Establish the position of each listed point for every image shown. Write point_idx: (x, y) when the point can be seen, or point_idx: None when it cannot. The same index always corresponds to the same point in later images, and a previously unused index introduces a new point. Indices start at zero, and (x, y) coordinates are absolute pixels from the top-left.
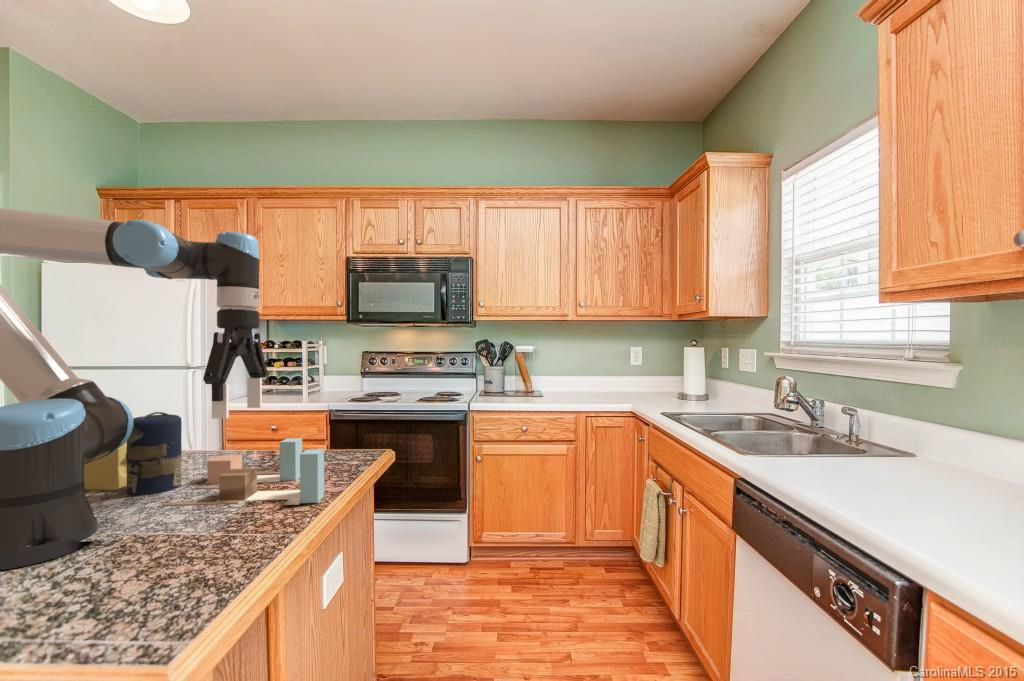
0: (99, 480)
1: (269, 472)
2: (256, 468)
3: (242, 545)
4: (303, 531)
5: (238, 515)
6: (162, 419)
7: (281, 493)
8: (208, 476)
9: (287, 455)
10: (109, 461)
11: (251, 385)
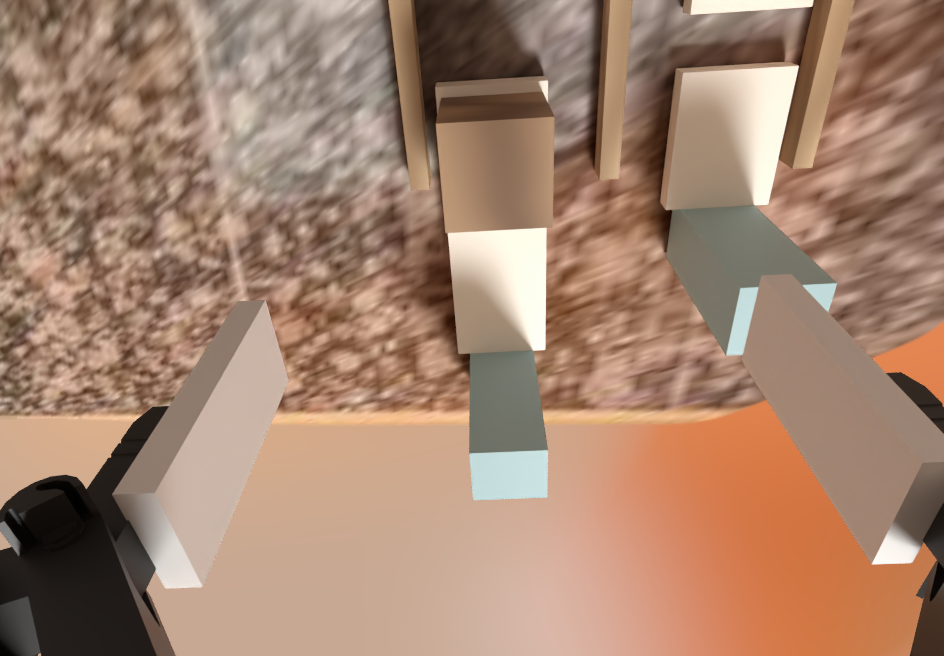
0: None
1: (822, 108)
2: (547, 227)
3: (181, 325)
4: (283, 415)
5: (372, 205)
6: None
7: (512, 284)
8: None
9: (710, 287)
10: None
11: (855, 434)
